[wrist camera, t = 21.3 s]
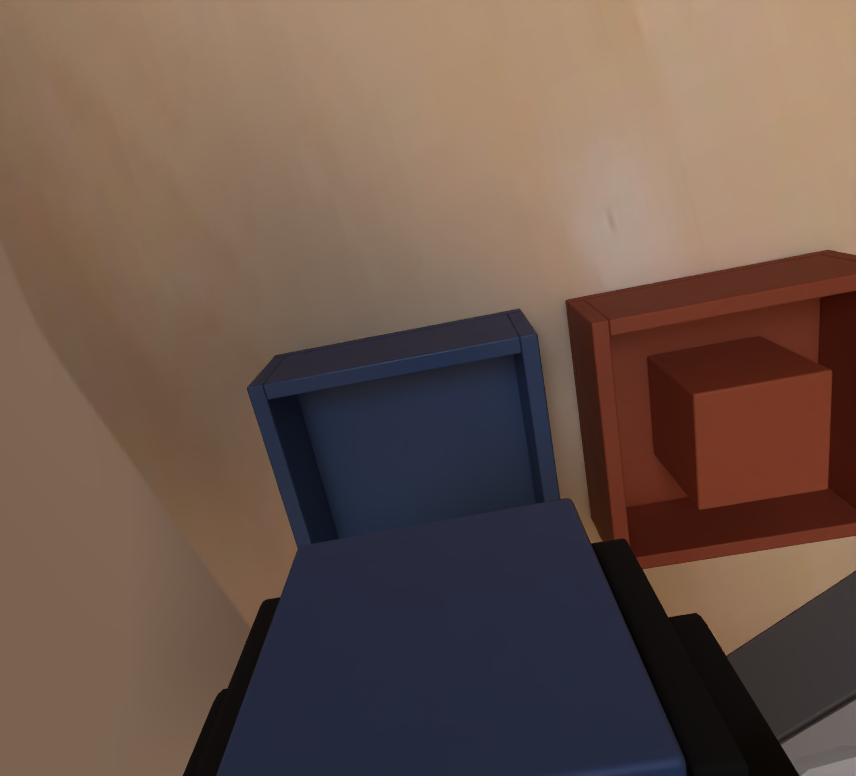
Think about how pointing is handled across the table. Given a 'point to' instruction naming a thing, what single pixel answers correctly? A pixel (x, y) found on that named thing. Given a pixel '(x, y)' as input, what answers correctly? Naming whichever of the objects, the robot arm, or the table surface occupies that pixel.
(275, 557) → the table surface
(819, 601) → the alarm clock
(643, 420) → the terracotta bin
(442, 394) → the blue bin
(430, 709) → the blue block
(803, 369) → the terracotta block
